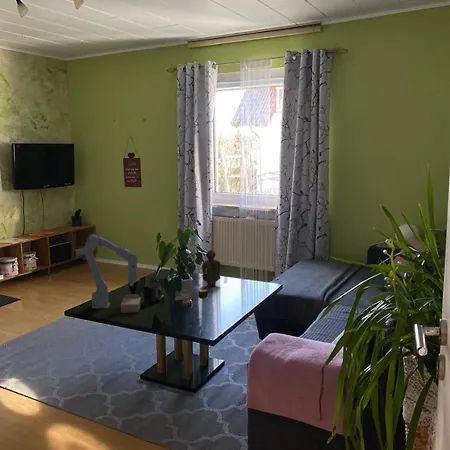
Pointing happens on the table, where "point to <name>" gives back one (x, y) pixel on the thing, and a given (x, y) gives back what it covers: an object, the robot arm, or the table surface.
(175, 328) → the table surface
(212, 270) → the clay figurine
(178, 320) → the table surface
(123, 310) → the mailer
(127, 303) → the lid
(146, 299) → the small box
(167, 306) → the table surface
